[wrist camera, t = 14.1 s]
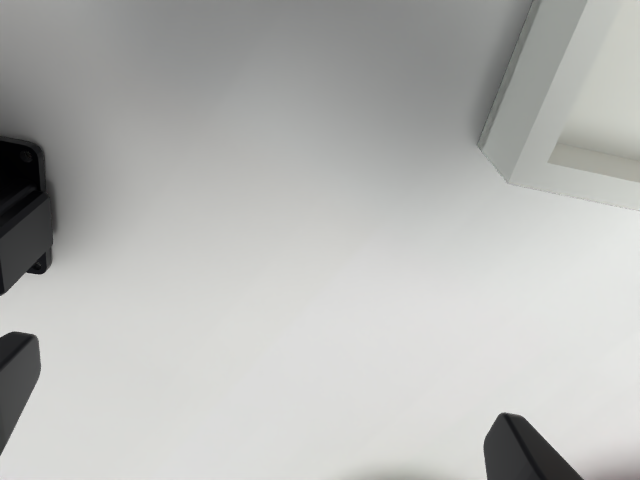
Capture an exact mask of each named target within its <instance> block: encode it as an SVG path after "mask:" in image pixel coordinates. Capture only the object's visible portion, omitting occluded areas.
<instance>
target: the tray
mask: <svg viewBox="0 0 640 480" xmlns="http://www.w3.org/2000/svg"><path fill="white" fill-rule="evenodd" d="M477 146H478V148H479V149H480V150H481V151H482V153H483V154H484V155H485V156H486V158H487V159H488V160H489V161H490V163H491V164H492V165H493V166H494V167H495V169H496V170H497V171H498V172H499V174H500V175H501V176H502V177H503V179H504V180H505V181H506V182H507V184H511V185H516V186H521V187H526V188H530V189H535V190H540V191H545V192H549V193H554V194H559V195H564V196H568V197H573V198H578V199H583V200H587V201H592V202H597V203H602V204H606V205H611V206H616V207H621V208H625V209H630V210H635V211H640V0H533V3H532V5H531V8H530V10H529V13H528V15H527V18H526V21H525V23H524V26H523V28H522V31H521V33H520V36H519V39H518V41H517V44H516V46H515V49H514V51H513V54H512V57H511V59H510V62H509V64H508V67H507V70H506V72H505V75H504V77H503V80H502V82H501V85H500V88H499V90H498V93H497V95H496V98H495V100H494V103H493V106H492V108H491V111H490V113H489V116H488V118H487V121H486V124H485V126H484V129H483V131H482V134H481V137H480V139H479V142H478V144H477Z"/></svg>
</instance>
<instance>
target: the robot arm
mask: <svg viewBox="0 0 640 480" xmlns="http://www.w3.org/2000/svg"><path fill="white" fill-rule="evenodd" d="M25 151H27V152H29V153H30V154H31V155H32V159H30V158H28V157H27V156H26V154H25ZM52 244H53V234H52V219H51V205H50V197H49V195H48V194H47V193H46V187H45V173H44V160H43V153H42V151H41V149H40V148H39V147H38V146H37V145H36V144H34V143H31V142H27V141H22V140H17V139H12V138H7V137H2V136H0V296H1V295H3V294H4V293H6V292H7V291H8V290H9V289H10V288H11V287H12V286H13V285H14V284H15V283H16V282H17V281H18V280H19V279H20V278H21V276H22V275H23V274H24V273H25V272H27V273H32V274H43V273H45V272H46V270H47V269H48V268H49V267H50V266H51V256H50V247H51V245H52ZM36 261H37V262H39V263H40V264H41V266H40V265H38V264H37V263H36ZM40 371H41V362H40V351H39V341H38V338H37V336H36V335H33V334H28V333H22V332H11V333H8V334H6V335H4V336H2V337H0V455H1V454H2V452H3V450H4V448H5V446H6V444H7V442H8V440H9V438H10V436H11V434H12V432H13V430H14V428H15V426H16V424H17V421H18V419H19V417H20V415H21V413H22V411H23V409H24V407H25V405H26V403H27V401H28V399H29V397H30V395H31V393H32V391H33V389H34V387H35V385H36V383H37V381H38V378H39V375H40ZM484 457H485V465H486V473H487V480H584V479H583V478H582V477H581V476H580V475H579V474H578V473H577V472H576V471H575V470H574V469H573V468H572V467H571V466H570V465H569V464H568V463H567V462H566V461H565V460H564V459H563V458H562V457H561V456H560V454H559V453H558V452H557V451H556V450H555V449H554V448H553V447H552V446H551V445H550V444H549V443H548V442H547V441H546V440H545V439H544V438H543V437H542V436H541V435H540V434H539V433H538V432H537V431H536V429H535V428H534V427H533V426H532V425H531V424H530V423H529V422H528V421H527V420H526V419H525V418H524V417H522V416H520V415H516V414H510V413H501V414H499V415H498V417H497V418H496V420H495V422H494V424H493V425H492V427H491V429H490V431H489V432H488V434H487V436H486V438H485V441H484Z"/></svg>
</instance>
